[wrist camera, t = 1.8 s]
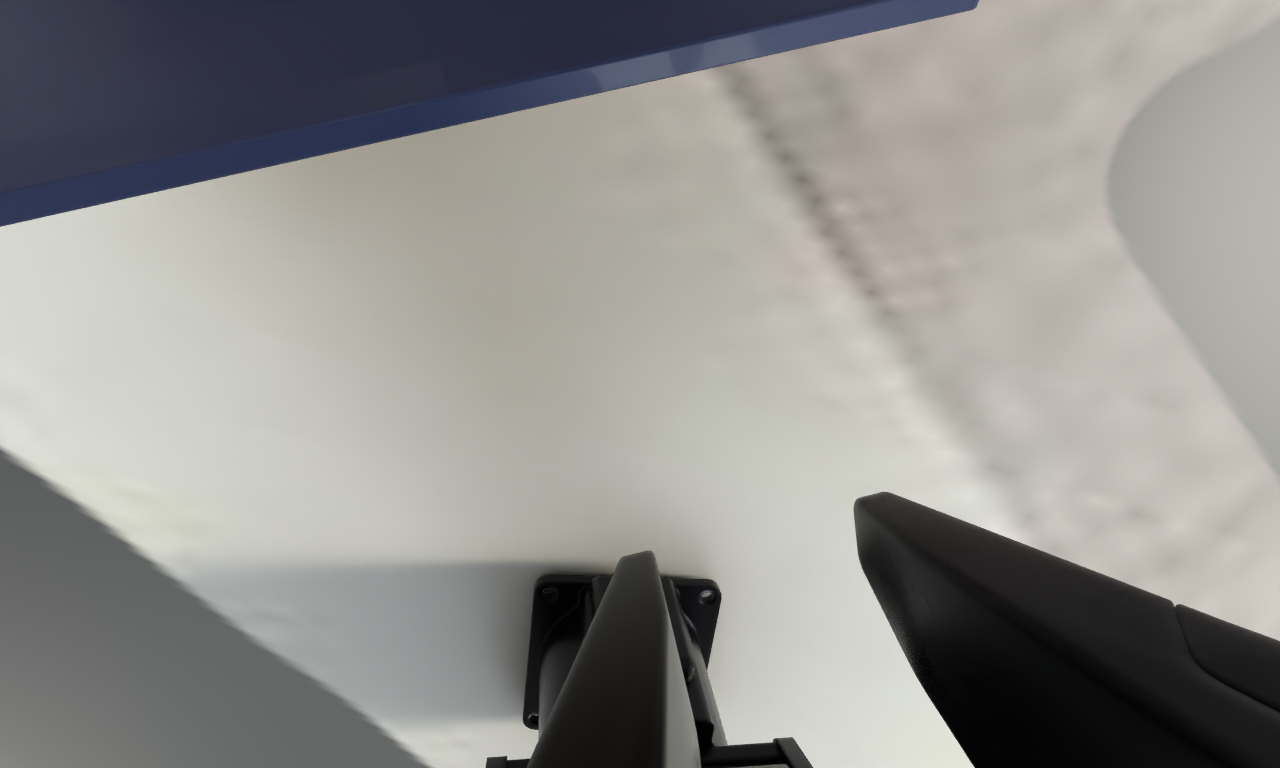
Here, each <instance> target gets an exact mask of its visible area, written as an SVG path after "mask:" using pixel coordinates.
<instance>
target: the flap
mask: <svg viewBox="0 0 1280 768" xmlns="http://www.w3.org/2000/svg"><path fill="white" fill-rule="evenodd" d="M978 2H979V0H0V227H1V226H5V225H10V224H14V223H19V222H23V221H28V220H32V219H37V218H41V217H46V216H50V215H55V214H59V213H64V212H68V211H72V210H77V209H81V208H86V207H90V206H95V205H99V204H104V203H108V202H113V201H117V200H122V199H126V198H131V197H135V196H140V195H144V194H149V193H153V192H158V191H162V190H167V189H171V188H176V187H180V186H185V185H189V184H194V183H198V182H203V181H207V180H212V179H216V178H220V177H225V176H229V175H234V174H238V173H243V172H247V171H252V170H256V169H261V168H265V167H270V166H274V165H279V164H283V163H288V162H292V161H297V160H301V159H306V158H310V157H315V156H319V155H324V154H328V153H333V152H337V151H342V150H346V149H351V148H355V147H360V146H364V145H369V144H373V143H377V142H382V141H386V140H391V139H395V138H400V137H404V136H409V135H413V134H418V133H422V132H427V131H431V130H436V129H440V128H445V127H449V126H454V125H458V124H463V123H467V122H472V121H476V120H481V119H485V118H490V117H494V116H499V115H503V114H508V113H512V112H517V111H521V110H525V109H530V108H534V107H539V106H543V105H548V104H552V103H557V102H561V101H566V100H570V99H575V98H579V97H584V96H588V95H593V94H597V93H602V92H606V91H611V90H615V89H620V88H624V87H629V86H633V85H638V84H642V83H647V82H651V81H656V80H660V79H665V78H669V77H673V76H678V75H682V74H687V73H691V72H696V71H700V70H705V69H709V68H714V67H718V66H723V65H727V64H732V63H736V62H741V61H745V60H750V59H754V58H759V57H763V56H768V55H772V54H777V53H781V52H786V51H790V50H795V49H799V48H804V47H808V46H813V45H817V44H821V43H826V42H830V41H835V40H839V39H844V38H848V37H853V36H857V35H862V34H866V33H871V32H875V31H880V30H884V29H889V28H893V27H898V26H902V25H907V24H911V23H916V22H920V21H925V20H929V19H934V18H938V17H943V16H947V15H952V14H956V13H961V12H965V11H969V10H973V9H975V8H976V7H977V5H978Z"/></svg>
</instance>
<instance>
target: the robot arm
mask: <svg viewBox="0 0 1280 768" xmlns="http://www.w3.org/2000/svg"><path fill="white" fill-rule="evenodd" d="M854 519H855V529H856V539H857V548H858V556H859V560H860V563H861V566H862V569H863V571H864V573H865V575H866V577H867V579H868V581H869V583H870V585H871V587H872V589H873V591H874V593H875V595H876V597H877V599H878V601H879V603H880V605H881V607H882V609H883V611H884V613H885V615H886V618H887V620H888V622H889V624H890V626H891V628H892V630H893V632H894V634H895V636H896V638H897V640H898V642H899V644H900V646H901V648H902V650H903V652H904V654H905V656H906V658H907V660H908V662H909V663H910V665H911V667H912V669H913V671H914V673H915V675H916V677H917V678H918V680H919V682H920V683H921V685H922V687H923V688H924V690H925V692H926V693H927V695H928V696H929V698H930V699H931V701H932V703H933V704H934V706H935V707H936V709H937V710H938V712H939V713H940V715H941V716H942V718H943V720H944V721H945V723H946V724H947V726H948V727H949V729H950V730H951V732H952V733H953V735H954V737H955V738H956V740H957V741H958V743H959V744H960V746H961V747H962V749H963V750H964V752H965V754H966V755H967V757H968V758H969V760H970V761H971V763H972V764H973V766H974V767H975V768H1280V641H1278V640H1275V639H1273V638H1270V637H1267V636H1264V635H1262V634H1259V633H1256V632H1253V631H1251V630H1248V629H1245V628H1242V627H1240V626H1237V625H1234V624H1232V623H1229V622H1226V621H1223V620H1221V619H1218V618H1215V617H1213V616H1210V615H1208V614H1205V613H1202V612H1200V611H1197V610H1195V609H1192V608H1189V607H1187V606H1184V605H1182V604H1178V605H1176V606H1175V607H1174V604H1173V603H1172V601H1170V600H1168V599H1165V598H1163V597H1160V596H1158V595H1155V594H1152V593H1150V592H1147V591H1145V590H1142V589H1139V588H1137V587H1134V586H1132V585H1129V584H1126V583H1124V582H1121V581H1119V580H1116V579H1113V578H1111V577H1108V576H1106V575H1103V574H1100V573H1098V572H1095V571H1093V570H1090V569H1087V568H1085V567H1082V566H1080V565H1077V564H1074V563H1072V562H1069V561H1067V560H1064V559H1061V558H1059V557H1056V556H1054V555H1051V554H1048V553H1046V552H1043V551H1041V550H1038V549H1035V548H1033V547H1030V546H1028V545H1025V544H1022V543H1020V542H1017V541H1015V540H1012V539H1009V538H1007V537H1004V536H1001V535H999V534H996V533H994V532H991V531H988V530H986V529H983V528H981V527H978V526H975V525H973V524H970V523H968V522H965V521H962V520H960V519H957V518H955V517H952V516H949V515H947V514H944V513H942V512H939V511H936V510H934V509H931V508H929V507H926V506H923V505H921V504H918V503H916V502H913V501H910V500H908V499H905V498H903V497H900V496H897V495H895V494H892V493H889V492H880V493H877V494H873V495H869V496H865V497H861V498H858V499H857V500H856V501H855V503H854ZM546 588H552V589H554V590H555V591H553V592H551V593H546V592H544V591H543V590H544V589H546ZM707 592H710V593H711V594H710V595H709V596H707V597H702V595H703V594H704V593H707ZM720 603H721V592H720V589H719V587H718V585H717V583H716V582H714V581H713V580H709V579H683V578H668V577H660V575H659V571H658V567H657V563H656V558H655V555H654V553H653V552H652V551H644V552H640V553H636V554H632V555H628V556H624V557H622V558H621V559H620V561H619V563H618V565H617V568H616V570H615V572H614V574H613V576H612V575H599V576H585V575H552V574H550V575H544V576H542V577H540V578H539V579H538V580H537V581H536V582H535V585H534V594H533V605H532V616H531V628H530V639H529V650H528V662H527V673H526V684H525V696H524V707H523V723H524V724H525V726H526V727H528V728H530V729H535V730H539V741H538V743H537V745H536V748H535V750H534V752H533V754H532V757H531V759H519V760H507V756H504V757H489V758H487V763H486V768H813V767H812V765H811V764H810V762H809V761H808V759H807V758H806V756H805V755H804V753H803V752H802V750H801V749H800V747H799V746H798V744H797V743H796V741H795V740H794V739H793V738H792V737H790V738H775V739H774V740H773V742H772V743H757V744H742V745H728V744H727V741H726V737H725V733H724V730H723V726H722V723H721V719H720V716H719V712H718V709H717V705H716V702H715V698H714V695H713V691H712V688H711V684H710V681H709V677H708V674H707V668H708V663H709V658H710V653H711V648H712V643H713V638H714V633H715V628H716V623H717V618H718V613H719V608H720ZM533 714H539V715H538V716H535V715H533Z"/></svg>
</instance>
